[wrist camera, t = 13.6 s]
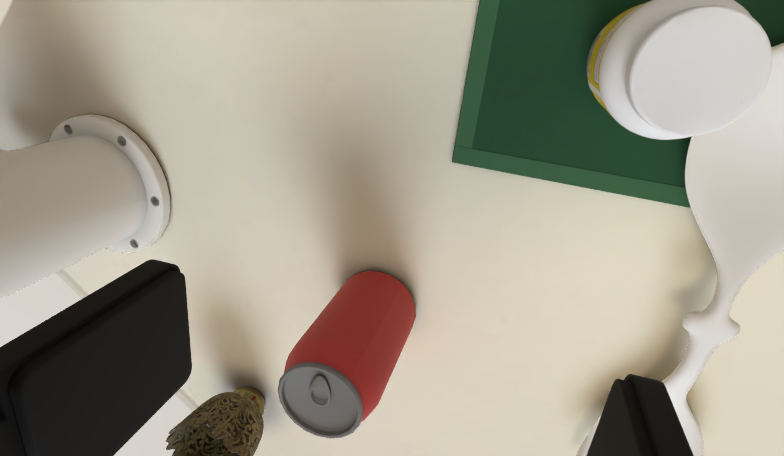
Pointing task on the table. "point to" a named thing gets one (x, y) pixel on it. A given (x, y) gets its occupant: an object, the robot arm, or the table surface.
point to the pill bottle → (679, 66)
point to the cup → (221, 426)
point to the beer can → (347, 355)
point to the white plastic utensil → (730, 227)
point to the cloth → (564, 101)
